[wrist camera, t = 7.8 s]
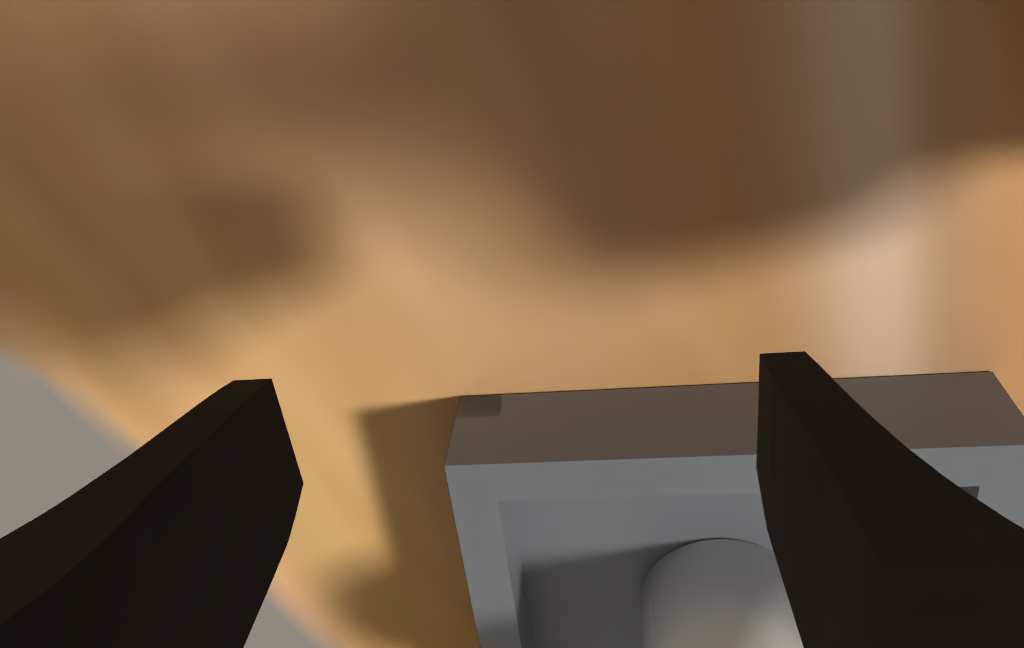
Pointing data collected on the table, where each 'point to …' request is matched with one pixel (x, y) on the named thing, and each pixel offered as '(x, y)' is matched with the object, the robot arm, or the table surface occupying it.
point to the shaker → (717, 599)
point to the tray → (663, 488)
